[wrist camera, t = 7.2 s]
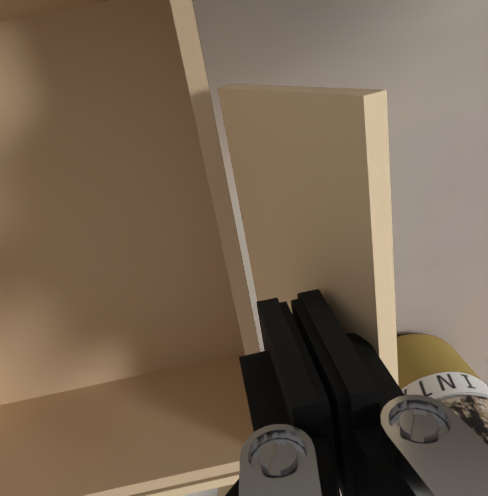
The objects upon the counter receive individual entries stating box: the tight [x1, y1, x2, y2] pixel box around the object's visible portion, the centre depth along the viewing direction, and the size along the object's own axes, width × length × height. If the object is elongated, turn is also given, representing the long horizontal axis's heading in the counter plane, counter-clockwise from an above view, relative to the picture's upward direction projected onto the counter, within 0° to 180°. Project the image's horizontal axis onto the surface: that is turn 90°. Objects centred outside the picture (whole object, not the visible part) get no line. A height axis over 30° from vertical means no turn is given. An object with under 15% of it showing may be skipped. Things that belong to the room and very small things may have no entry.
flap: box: [218, 84, 399, 386], centre depth 13 cm, size 12×1×6 cm, turn 10°
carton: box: [0, 0, 260, 496], centre depth 20 cm, size 22×16×8 cm
